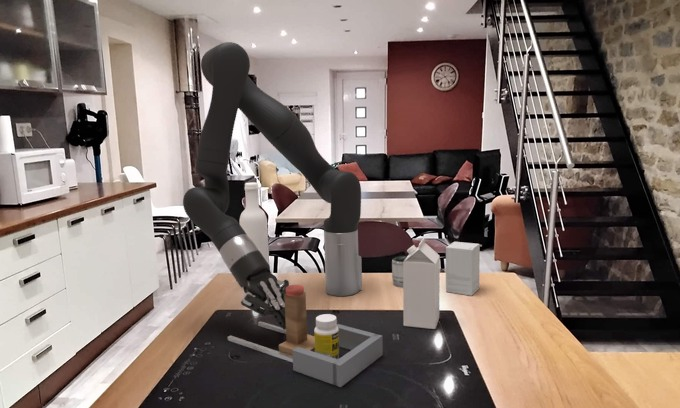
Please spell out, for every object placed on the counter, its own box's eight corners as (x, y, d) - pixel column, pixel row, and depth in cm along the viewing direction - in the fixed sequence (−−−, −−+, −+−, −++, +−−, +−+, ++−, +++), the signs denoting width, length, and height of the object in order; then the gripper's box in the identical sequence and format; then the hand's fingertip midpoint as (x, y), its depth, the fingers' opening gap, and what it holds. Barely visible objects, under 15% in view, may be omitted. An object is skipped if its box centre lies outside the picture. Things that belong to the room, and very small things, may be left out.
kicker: (301, 339, 100) (299, 281, 98) (328, 347, 96) (326, 287, 94) (278, 352, 95) (276, 291, 93) (306, 361, 91) (304, 297, 89)
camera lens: (418, 283, 136) (418, 256, 135) (407, 289, 131) (407, 261, 130) (399, 279, 140) (399, 253, 139) (387, 285, 135) (387, 258, 134)
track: (260, 324, 109) (260, 321, 109) (324, 343, 99) (324, 340, 98) (227, 340, 101) (227, 336, 101) (293, 362, 91) (292, 358, 91)
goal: (338, 341, 99) (337, 323, 99) (382, 354, 93) (382, 335, 92) (293, 370, 88) (292, 350, 87) (340, 387, 82) (340, 365, 81)
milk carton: (439, 317, 111) (439, 238, 108) (435, 330, 104) (435, 245, 101) (409, 314, 113) (409, 236, 110) (403, 326, 106) (402, 243, 103)
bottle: (261, 280, 143) (255, 180, 138) (276, 285, 137) (271, 182, 132) (237, 286, 137) (231, 183, 133) (252, 292, 132) (246, 185, 127)
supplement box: (480, 288, 130) (480, 243, 128) (471, 296, 124) (472, 249, 122) (453, 284, 134) (454, 240, 132) (444, 292, 128) (445, 246, 126)
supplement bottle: (336, 365, 89) (334, 323, 88) (312, 363, 90) (310, 321, 89) (341, 354, 94) (340, 313, 92) (318, 352, 95) (317, 312, 94)
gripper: (228, 256, 95) (275, 328, 90) (274, 243, 106) (318, 306, 100) (212, 278, 99) (257, 347, 94) (258, 263, 110) (300, 325, 104)
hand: (289, 326), depth 97 cm, fingers closed
